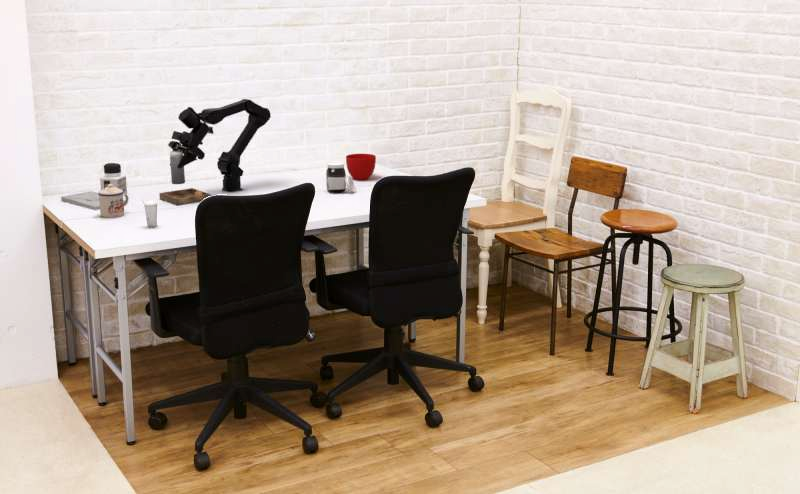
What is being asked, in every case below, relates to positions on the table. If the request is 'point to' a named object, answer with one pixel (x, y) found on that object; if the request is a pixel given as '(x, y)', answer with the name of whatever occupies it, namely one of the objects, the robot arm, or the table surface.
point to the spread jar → (338, 179)
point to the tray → (182, 196)
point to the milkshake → (151, 213)
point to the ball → (198, 193)
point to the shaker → (176, 173)
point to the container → (113, 177)
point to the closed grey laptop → (84, 200)
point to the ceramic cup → (360, 165)
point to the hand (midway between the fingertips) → (174, 167)
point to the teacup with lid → (112, 201)
